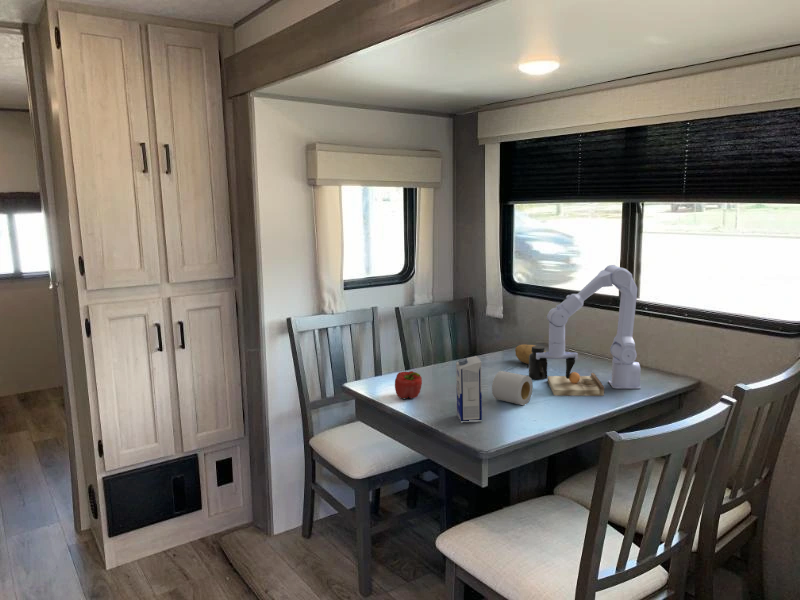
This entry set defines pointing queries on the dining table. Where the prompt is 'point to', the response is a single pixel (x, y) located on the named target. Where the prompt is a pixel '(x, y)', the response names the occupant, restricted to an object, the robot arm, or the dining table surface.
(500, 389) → the toilet paper
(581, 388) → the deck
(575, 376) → the ball
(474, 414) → the milk carton
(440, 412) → the dining table surface
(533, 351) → the supplement bottle
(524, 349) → the potato
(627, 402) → the dining table surface
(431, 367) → the dining table surface
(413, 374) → the vegetable
